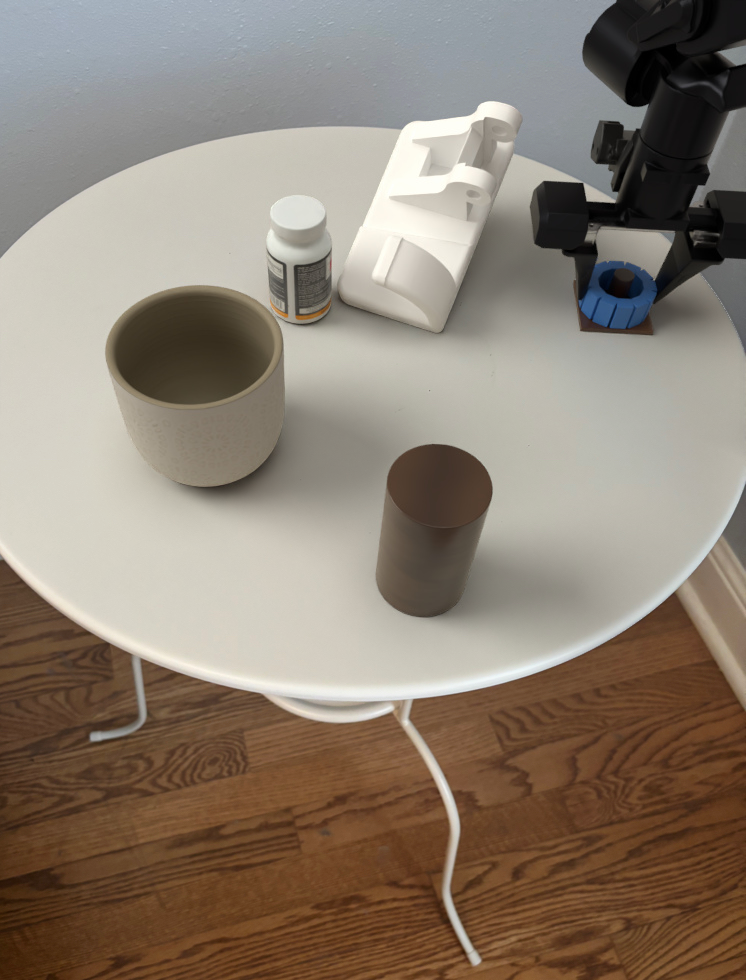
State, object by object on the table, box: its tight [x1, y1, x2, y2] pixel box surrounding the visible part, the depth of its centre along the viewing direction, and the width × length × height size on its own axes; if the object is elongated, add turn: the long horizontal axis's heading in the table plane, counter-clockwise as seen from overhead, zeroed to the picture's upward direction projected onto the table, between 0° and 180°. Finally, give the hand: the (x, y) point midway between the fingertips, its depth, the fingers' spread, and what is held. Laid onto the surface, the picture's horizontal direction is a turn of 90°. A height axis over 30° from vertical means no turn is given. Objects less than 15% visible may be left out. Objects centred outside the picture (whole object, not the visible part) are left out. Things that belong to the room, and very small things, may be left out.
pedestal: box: [375, 443, 494, 618], centre depth 57 cm, size 7×7×11 cm
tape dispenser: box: [336, 100, 524, 334], centre depth 76 cm, size 20×11×13 cm, turn 156°
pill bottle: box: [265, 194, 333, 325], centre depth 73 cm, size 6×6×10 cm
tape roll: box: [578, 260, 657, 329], centre depth 77 cm, size 6×6×2 cm
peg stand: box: [572, 268, 655, 336], centre depth 76 cm, size 7×7×4 cm
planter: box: [104, 284, 286, 488], centre depth 63 cm, size 12×12×11 cm
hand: (615, 299), depth 77 cm, fingers closed on tape roll, 6 cm apart
